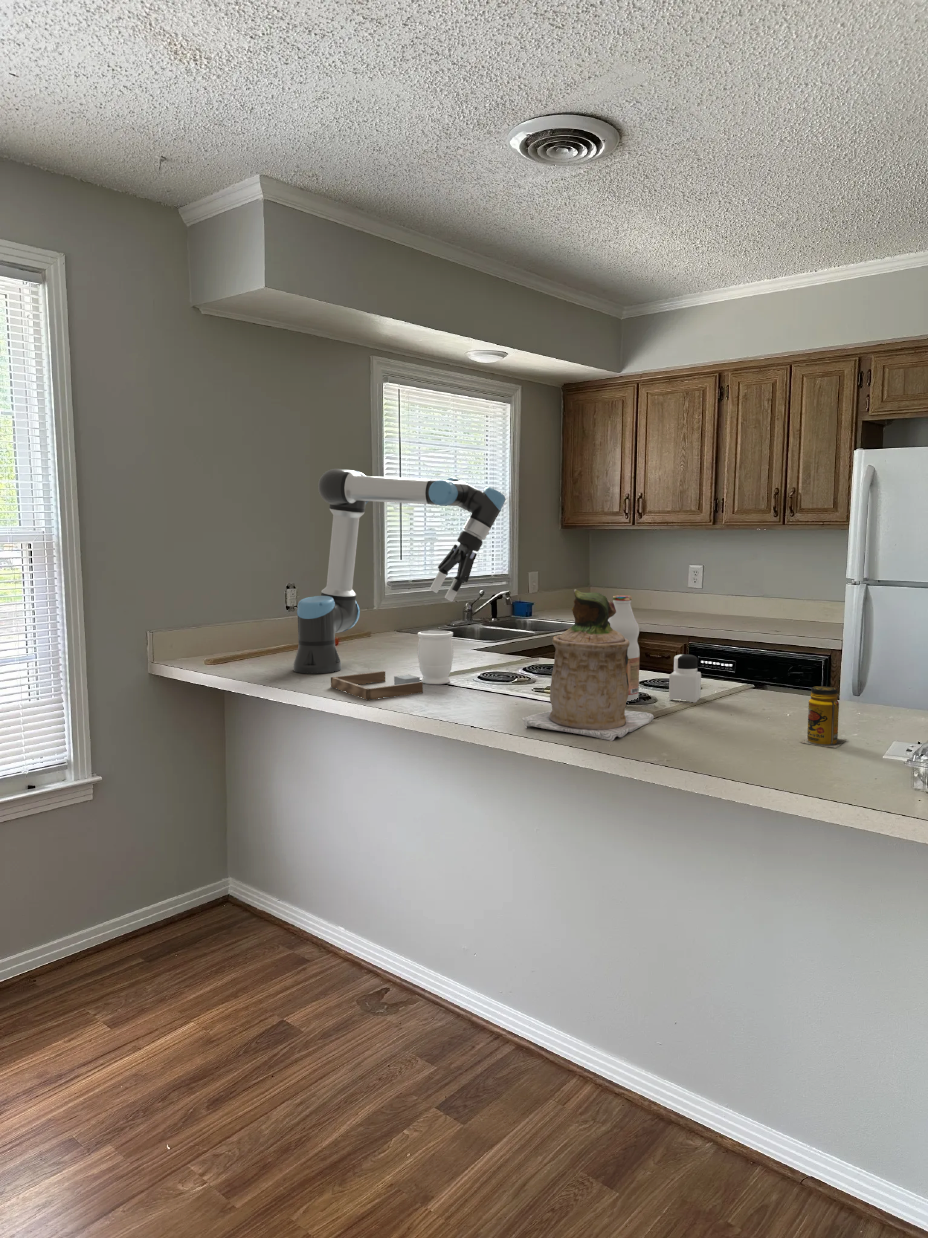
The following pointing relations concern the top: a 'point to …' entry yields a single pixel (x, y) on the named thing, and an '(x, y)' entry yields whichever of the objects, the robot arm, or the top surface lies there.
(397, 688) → the tray
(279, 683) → the top surface
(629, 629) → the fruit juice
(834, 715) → the condiment
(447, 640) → the jar
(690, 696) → the medicine bottle
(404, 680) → the tile
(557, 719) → the cookie jar
